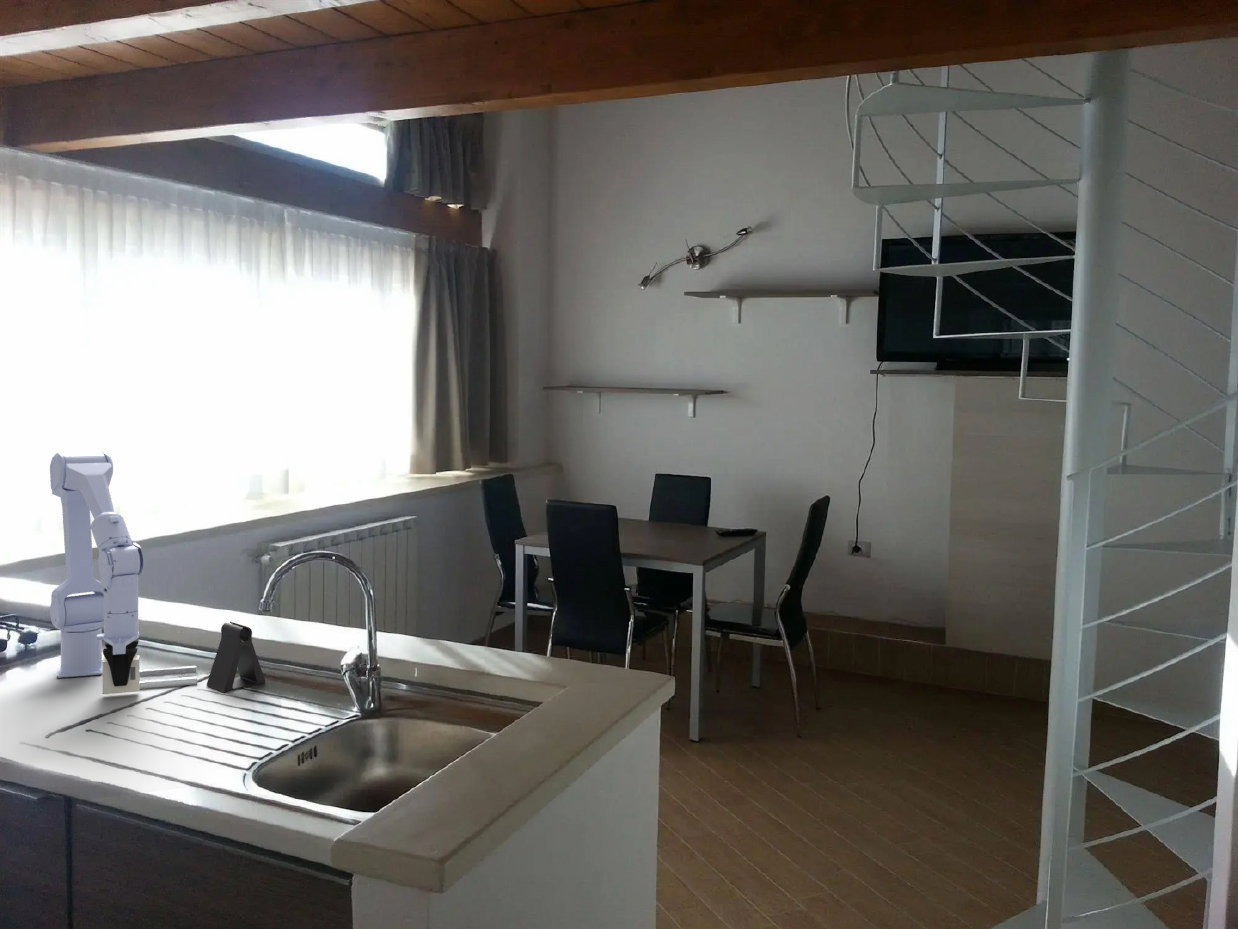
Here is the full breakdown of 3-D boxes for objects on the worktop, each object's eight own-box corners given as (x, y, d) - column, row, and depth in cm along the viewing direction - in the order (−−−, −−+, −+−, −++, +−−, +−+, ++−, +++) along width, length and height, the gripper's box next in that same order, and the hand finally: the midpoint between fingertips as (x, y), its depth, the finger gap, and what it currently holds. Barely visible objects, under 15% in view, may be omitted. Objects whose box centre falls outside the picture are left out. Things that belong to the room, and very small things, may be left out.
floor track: (107, 678, 192) (107, 672, 192) (196, 671, 199) (196, 665, 199) (104, 692, 184) (104, 685, 184) (197, 684, 191) (197, 678, 190)
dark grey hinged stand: (223, 693, 186) (223, 631, 185) (206, 686, 189) (206, 625, 188) (265, 683, 193) (266, 623, 192) (248, 676, 197) (248, 618, 196)
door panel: (103, 689, 182) (103, 657, 182) (139, 686, 185) (139, 654, 184) (102, 694, 179) (102, 662, 179) (138, 691, 182) (138, 659, 181)
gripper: (99, 603, 186) (99, 673, 187) (93, 621, 173) (93, 696, 174) (140, 601, 189) (140, 670, 190) (138, 618, 175) (138, 692, 177)
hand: (121, 682), depth 182 cm, fingers closed on door panel, 3 cm apart
